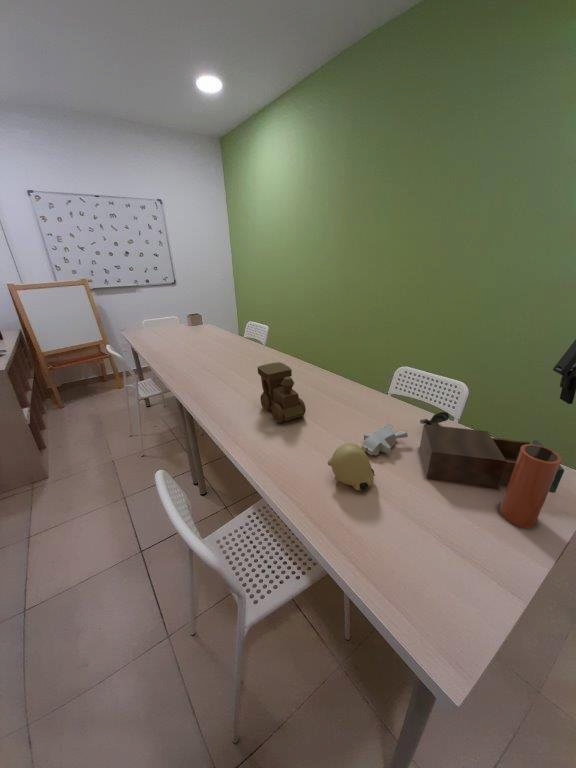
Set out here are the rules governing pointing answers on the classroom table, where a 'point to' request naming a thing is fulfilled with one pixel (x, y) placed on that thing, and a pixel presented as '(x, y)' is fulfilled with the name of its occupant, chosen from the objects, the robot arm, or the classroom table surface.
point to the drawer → (510, 454)
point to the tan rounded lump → (352, 466)
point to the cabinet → (461, 456)
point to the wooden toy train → (280, 392)
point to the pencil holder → (529, 484)
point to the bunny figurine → (381, 440)
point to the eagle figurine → (436, 419)
